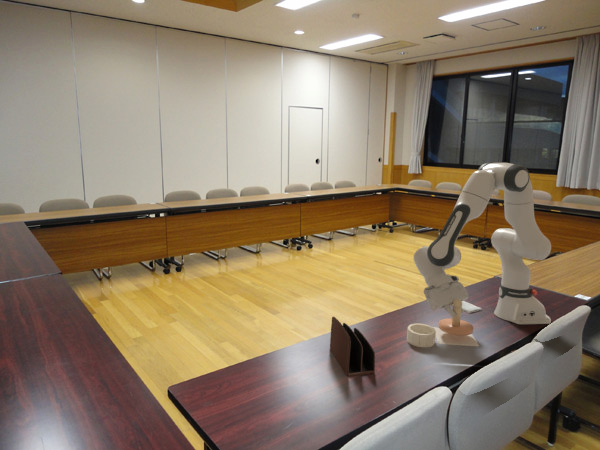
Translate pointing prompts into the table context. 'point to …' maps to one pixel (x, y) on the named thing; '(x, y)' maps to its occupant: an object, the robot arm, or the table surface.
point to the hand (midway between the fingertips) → (458, 314)
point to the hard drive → (469, 307)
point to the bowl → (421, 335)
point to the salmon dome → (456, 322)
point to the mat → (454, 338)
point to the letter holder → (351, 349)
